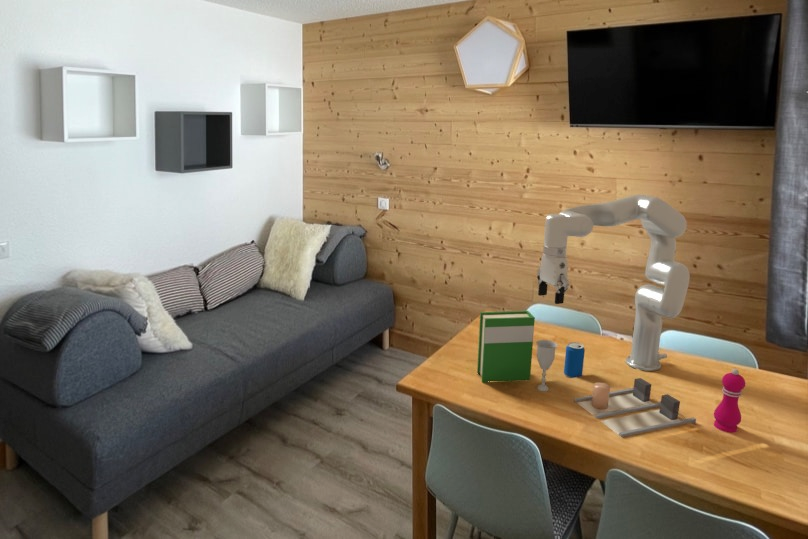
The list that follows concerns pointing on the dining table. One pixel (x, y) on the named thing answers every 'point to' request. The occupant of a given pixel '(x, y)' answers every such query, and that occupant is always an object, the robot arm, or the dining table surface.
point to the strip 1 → (624, 399)
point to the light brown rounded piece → (600, 395)
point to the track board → (633, 409)
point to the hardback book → (505, 345)
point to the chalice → (545, 359)
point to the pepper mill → (729, 403)
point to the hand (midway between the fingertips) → (550, 299)
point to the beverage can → (574, 360)
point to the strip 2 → (647, 417)
